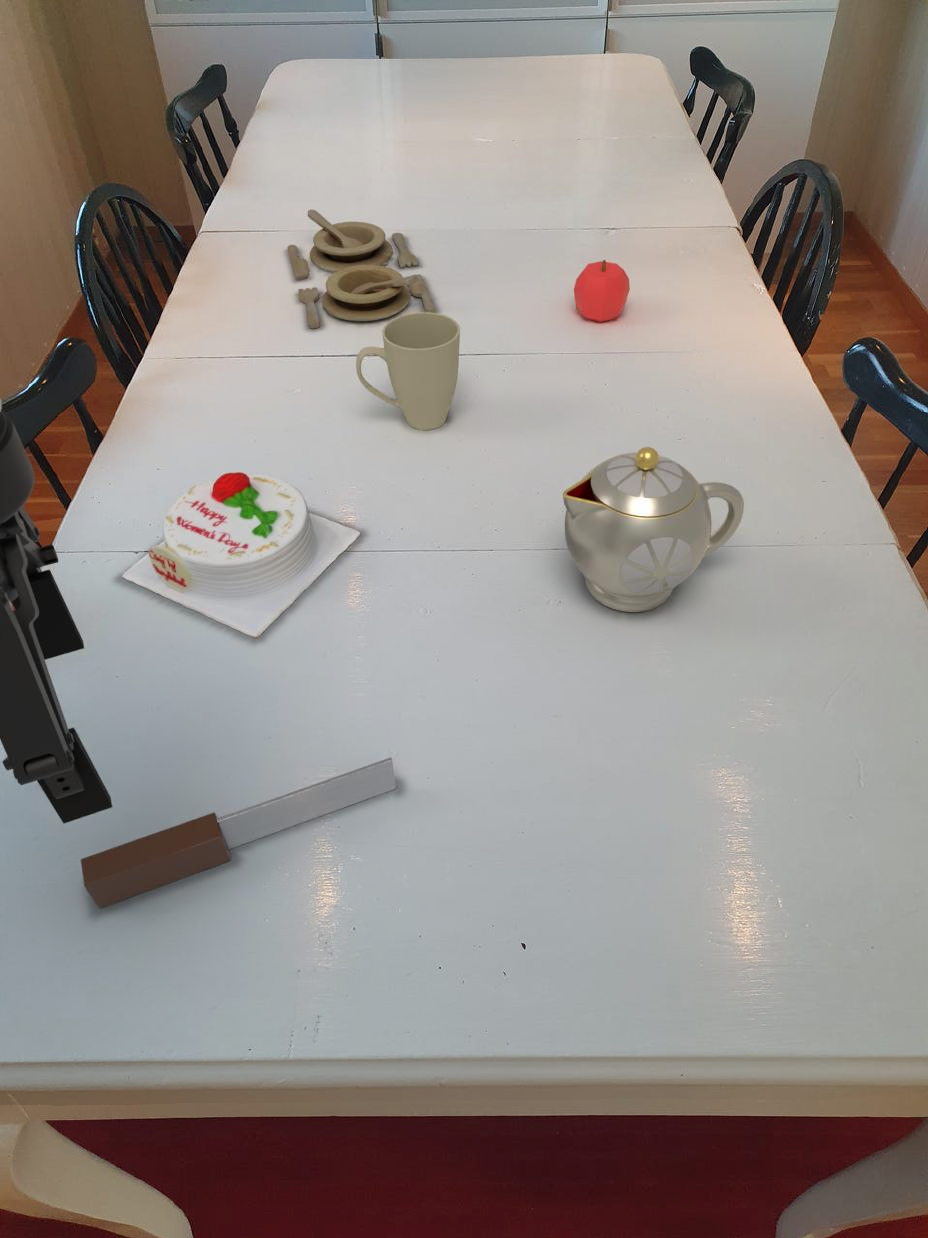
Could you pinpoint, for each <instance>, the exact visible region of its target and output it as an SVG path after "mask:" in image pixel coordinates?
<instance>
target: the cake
mask: <svg viewBox="0 0 928 1238" xmlns="http://www.w3.org/2000/svg"><path fill="white" fill-rule="evenodd" d="M162 535H163V540H162V541H161V542H160V543H159V544H158V545H155V544H154V545H152V546H151V547H150V549H149V551H148V553H147V554H146V555H144V556H143V557H141V558H140V559H139V560H138V561H136V562H135V563H134V564H133V565H132V566H130V568H128V569H127V570H126V571H125V572H124V573H123V574H122V575H121V578H123V579H125V580H127V581H129V582H132V583H134V584H136V585H138V586H139V587H143V588H145V589H147V590H149V591H151V592H152V593H156V594H157V595H160V596H162V597H164V598H165V599H169V600H170V601H172V602H174V603H177V604H180V605H182V606H183V607H184V608H187V609H190V610H193V611H194V612H197V613H200V614H202V615H203V616H206V617H208V618H209V619H212V620H214V621H216V622H219V623H221V624H222V625H226V626H228V627H230V628H232V629H234V630H236V631H238V632H241V633H243V634H244V635H247V636H249V637H251V638H253V639H257V638H259V637H260V636H261V635H262V634H263V632H264V631H266V630H267V629H268V627H269V626H270V625H272V623H273V622H274V621H276V620H277V619H278V618H279V617H280V616H281V615H282V613H283V612H285V611H286V610H287V609H288V608H289V607H290V606H291V605H292V604H293V603H294V602H295V601H296V600H297V598H298V597H300V595H301V594H302V593H303V592H304V591H305V590H307V589H308V588H309V587H310V586H311V585H312V584H313V582H315V581H316V580H317V578H318V577H319V576H320V575H322V573H324V571H325V570H326V569H327V568H328V567H329V566H330V565H331V564H332V563H333V562H335V560H337V558H338V556H340V555H342V553H344V551H346V550H347V549H348V548H349V546H350V545H352V544H353V543H354V542H355V541H356V540H357V539H358V538H359V537H360V535H361V532H360V531H359V530H356V529H354V528H351V527H348V526H346V525H343V524H341V523H338V522H335V521H332V520H329V519H328V518H325V517H322V516H319V515H318V514H317V515H316V514H315V513H312V512H310V511H309V507H308V504H307V501H306V499H305V497H304V494H303V493H302V492H301V491H300V489H298V488H297V487H296V486H294V485H293V484H291V483H289V482H288V481H286V480H283V479H281V478H279V477H275V476H272V475H269V474H264V473H244V472H240V471H237V472H227V473H224V474H222V475H220V476H219V477H218V478H215V479H211V480H209V481H205V482H203V483H200V484H196V485H193V486H192V487H191V488H188V490H187V491H186V492H185V493H183V494H182V495H181V496H180V497H179V498H177V500H175V502H173V504H172V505H171V506H170V507H169V509H168V510H167V513H166V514H165V516H164V519H163V523H162Z"/></svg>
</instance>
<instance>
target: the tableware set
mask: <svg viewBox="0 0 928 1238" xmlns="http://www.w3.org/2000/svg"><path fill="white" fill-rule="evenodd" d="M307 217H308V219H310V220H311V221H313V222H314V223H315V224H316V225H318V226H319V227H320V228H321V229H320V230H318V231H317V232H316V233H315V234H314V236H313V237H312V238H313V239H312V242H313V246H312V247H311V249H310V251H309V259H310V261H311V262H312V264H314V266H316V267H317V268H320V269H323V270H325V271H328V272H333V273H332V274H331V275H330V276H329V277H328V278H327V279H326V281H325V290H326V291H325V292H324V293H323V294H322V297H321V305H322V307H323V309H324V310H325V311H326V312H327V313H328V314H329V315H331V316H332V317H335V318H337V319H341V320H345V321H354V322H369V321H377V320H382V319H386V318H389V317H392V316H394V315H396V314H398V313H399V312H401V311H402V310H404V309H405V308H406V307H407V306H408V304H409V303H410V300H411V295H412V296H413V297H415V298H421V300H422V305H423V309H424V312H431V313H436V305H435V303H434V301H433V299H432V296H431V294H430V292H429V290H428V288H427V285H426V283H425V281H424V279H423V276H422V274H420V273H419V274H413V275H409V276H404V277H403V275H402V274H401V273H400V272H399V271H397V270H396V269H394V268H391V267H388V266H384V264H386V263H387V262H389V260H390V259H392V256H393V254H394V248H393V245H392V244H391V243H390V242H389V241H388V240H387V239H386V238H387V237H386V232H385V231H384V230H383V229H382V228H381V227H380V226H378V225H376V224H373V223H370V222H364V221H343V222H338V223H333V224H332V223H331V222H329V220H327V218H325V217H324V216H323V215H322V214H321V213H320V212H318V211H317V210H316V209H308V210H307ZM391 239H392V241H393V243H394V245H395V246H396V248H397V250H398V252H399V255H397V263H398V266H399V268H400V269H403V268H406V267H408V268H411V267H412V266H413V267H418V266H419V261H418V259H417V257H416V255H415V254H414V253H412V252H410V251H408V248H407V244H406V241H405V237H404V234H403V233H402V232H394V233H392V234H391ZM287 252H288V256H289V260H290V264H291V267H292V271H293V275H294V279H295V280H296V281H301V280H304V279H307V278H308V277H309V275H310V268H309V264H308V261H307V259H306V258H303V257H299V253H298V252H299V251H298V247H297V245H296V244H288V245H287ZM407 286H408V287H409V288H408V287H407ZM297 292H298V297H299V301H300V302H302V303H303V304H305V305H306V318H307V326H308V328H309V329H312V330H313V329H318V328H320V327H321V322H320V318H319V314H318V310H317V307H316V304H315V303H316V302H317V301H318V300H319V298H320V295H319V289H318V287H317V286H316V287H315V286H313V287H311V288H310V287H306V288H305V289H304V288H298V291H297Z"/></svg>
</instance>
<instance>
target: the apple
mask: <svg viewBox="0 0 928 1238" xmlns="http://www.w3.org/2000/svg"><path fill="white" fill-rule="evenodd" d="M630 290H631V286H630V278H629V276H628V275H627V273H626V271H625V269H623V268H622V267H621V266H620V265H619V264H618V263H615V262H610V261H606V259H603V260H601V261H595V262H590V263H587V264H586V266H585V267H584V268H583V270H582V271H581V272H580V273H579V275H578V276H577V278H576V280H575V283H574V286H573V295H574V302H575V303H574V304H575V309H576V310H577V311H578V312H579V313H580V314H581V315H582V316H583V317H584V318H586V319H588V320H590V321H594V322H598V323H604V322H607V321H610V320H613V319H615V318H618V317H619V316H620V315H621V313H622V312H623V310H624V309H625V305H626V302H627V299H628V297H629V293H630Z"/></svg>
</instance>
